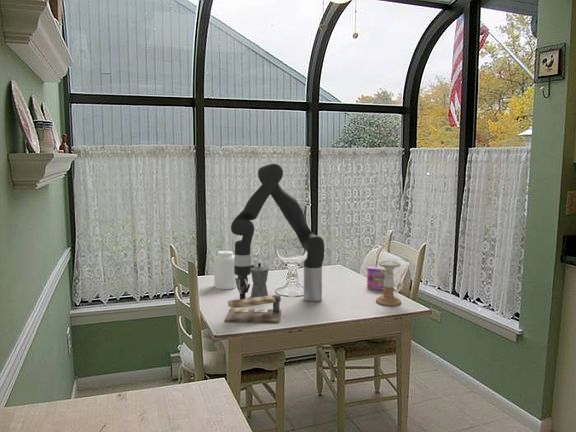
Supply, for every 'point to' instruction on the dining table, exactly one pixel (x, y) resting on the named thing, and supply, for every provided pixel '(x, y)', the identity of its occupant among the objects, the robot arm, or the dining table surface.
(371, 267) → the box
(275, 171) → the robot arm
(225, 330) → the dining table surface
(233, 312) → the label board
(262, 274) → the coffeepot
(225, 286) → the white jar
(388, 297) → the candle holder
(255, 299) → the swing arm
